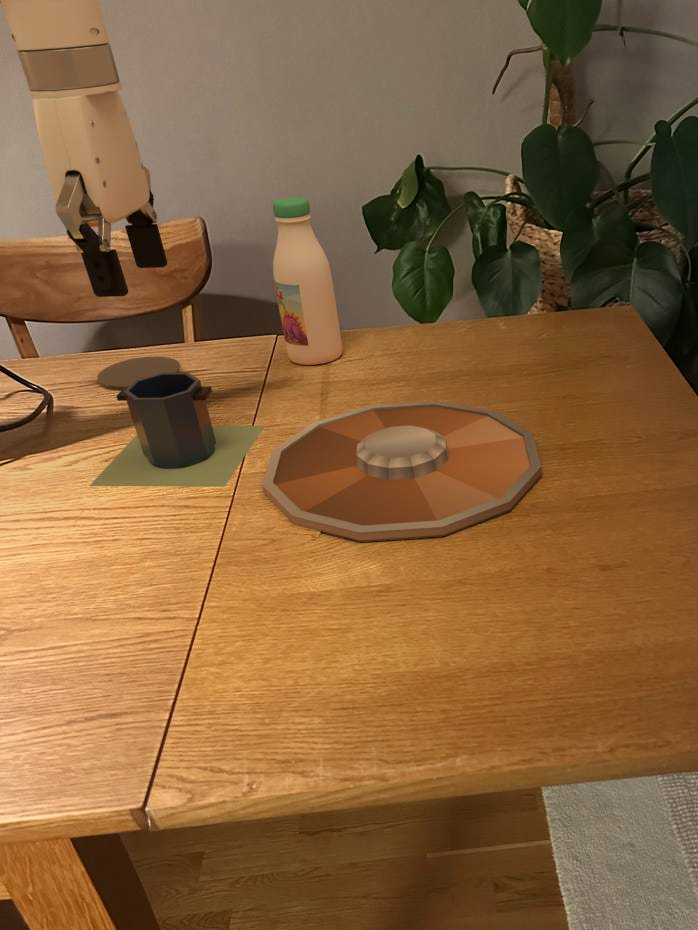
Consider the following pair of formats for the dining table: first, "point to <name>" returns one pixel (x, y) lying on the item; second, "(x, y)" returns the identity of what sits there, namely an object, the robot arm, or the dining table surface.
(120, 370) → the disc
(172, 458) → the pot
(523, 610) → the dining table surface
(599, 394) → the dining table surface
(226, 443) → the cloth
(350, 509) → the shield
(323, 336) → the milk bottle
